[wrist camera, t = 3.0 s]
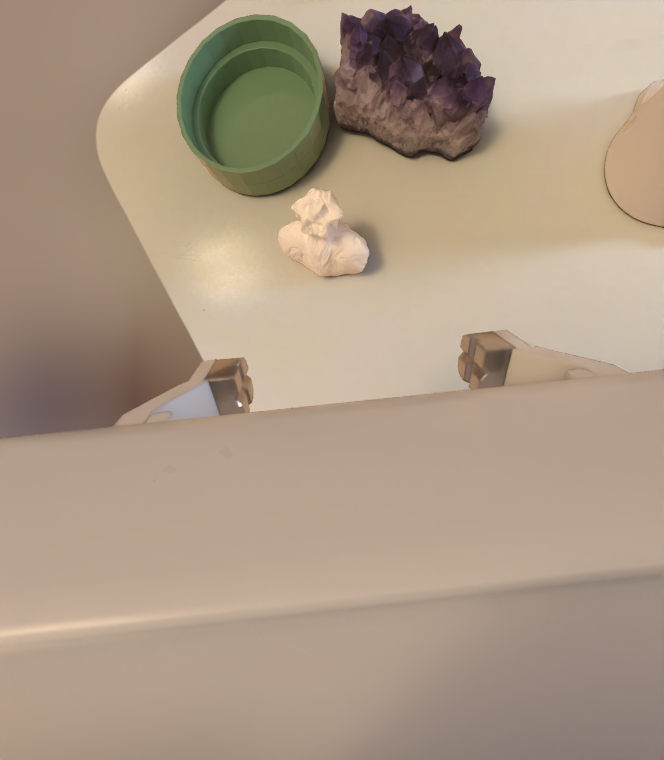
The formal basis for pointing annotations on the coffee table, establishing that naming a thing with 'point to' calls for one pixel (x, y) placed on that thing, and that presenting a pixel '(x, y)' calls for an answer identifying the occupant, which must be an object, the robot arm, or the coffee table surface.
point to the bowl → (255, 104)
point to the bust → (323, 237)
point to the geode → (410, 84)
